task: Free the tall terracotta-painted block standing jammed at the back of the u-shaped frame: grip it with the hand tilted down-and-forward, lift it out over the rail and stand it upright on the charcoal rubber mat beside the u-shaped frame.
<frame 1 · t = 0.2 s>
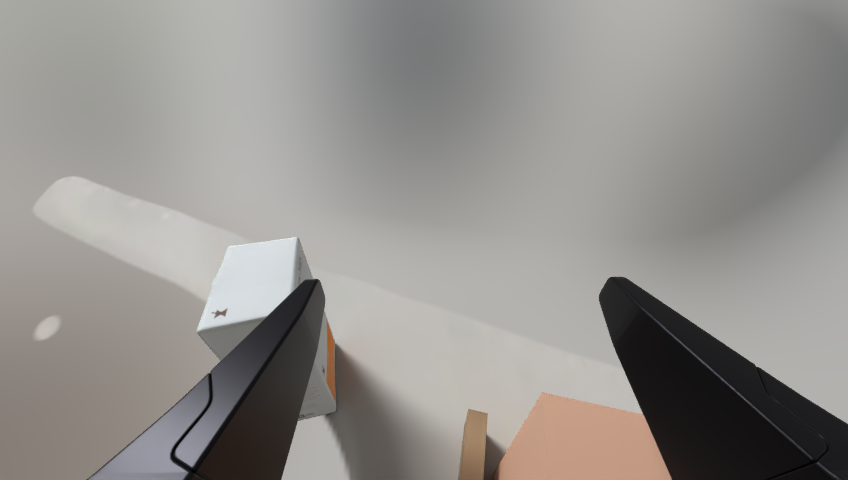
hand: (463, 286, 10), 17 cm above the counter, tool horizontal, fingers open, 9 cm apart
skincare box: (310, 379, 24), on the counter
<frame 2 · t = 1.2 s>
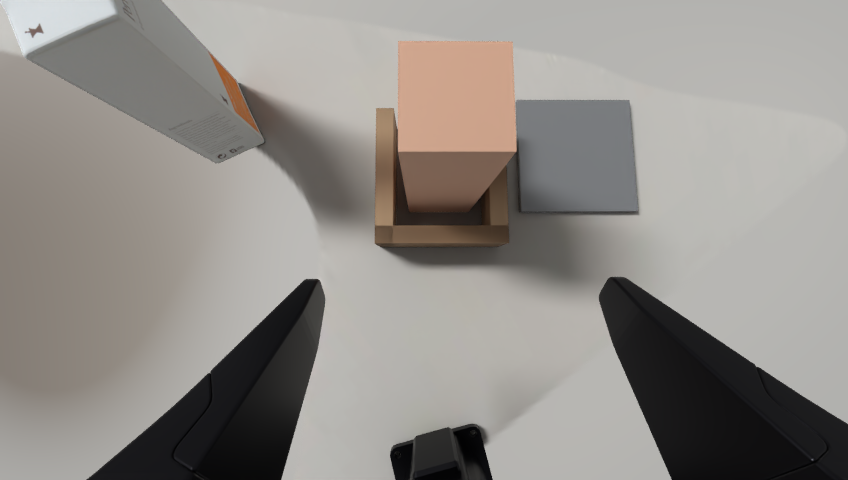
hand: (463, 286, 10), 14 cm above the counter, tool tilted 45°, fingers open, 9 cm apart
u-shaped frame: (438, 183, 24), on the counter
mat: (574, 156, 24), on the counter
skincare box: (229, 122, 25), on the counter
block: (444, 153, 18), in the u-shaped frame
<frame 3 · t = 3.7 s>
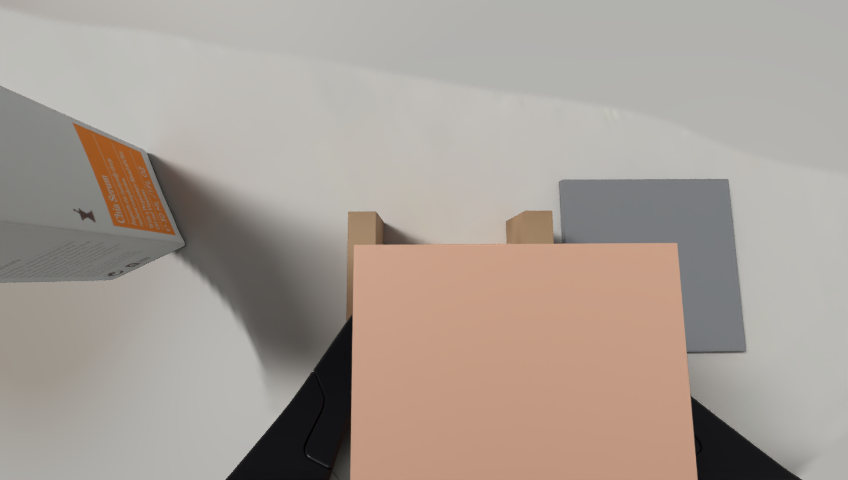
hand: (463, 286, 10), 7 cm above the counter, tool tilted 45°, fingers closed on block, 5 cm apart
u-shaped frame: (446, 306, 16), on the counter
mat: (646, 263, 16), on the counter
skincare box: (135, 212, 17), on the counter
block: (461, 328, 10), in the u-shaped frame, touching gripper
when the fingers open (7 cm above the counter, at t = 6.7 s): block stays where it is, resting on mat.
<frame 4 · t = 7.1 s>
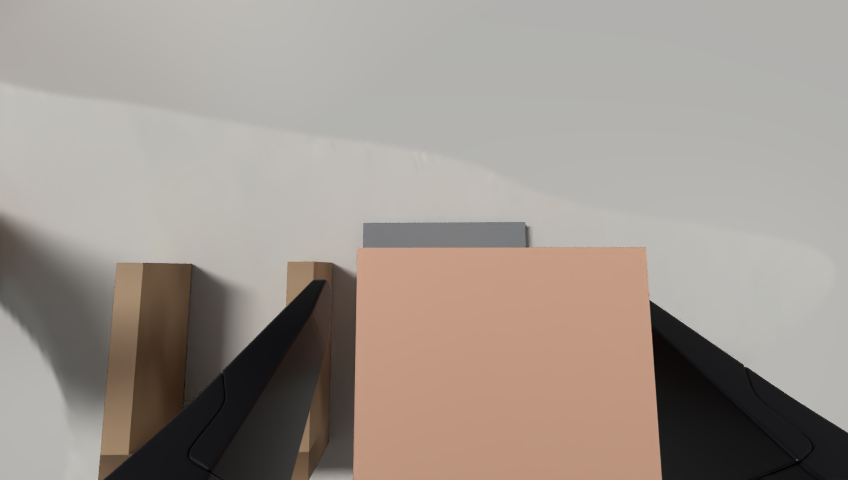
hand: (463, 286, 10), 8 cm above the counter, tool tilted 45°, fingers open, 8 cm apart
u-shaped frame: (247, 346, 17), on the counter
mat: (445, 303, 17), on the counter
block: (457, 325, 11), on the mat
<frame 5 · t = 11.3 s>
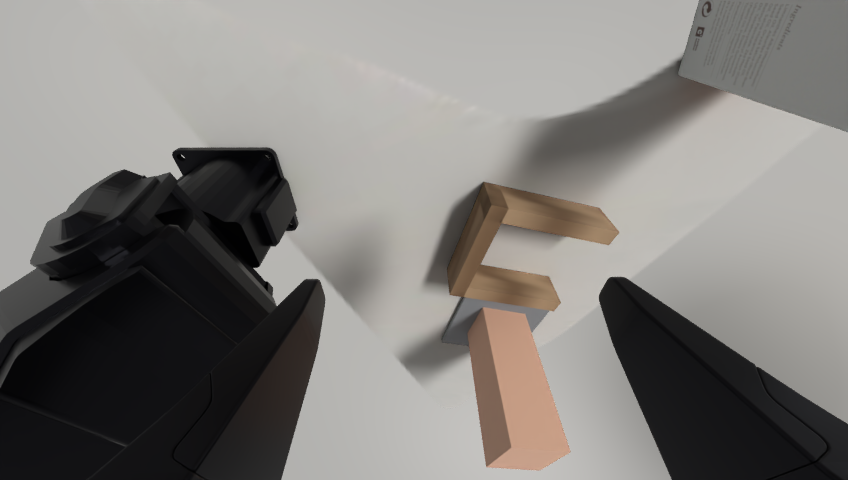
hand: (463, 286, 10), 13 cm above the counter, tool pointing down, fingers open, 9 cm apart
u-shaped frame: (520, 241, 25), on the counter
mat: (494, 321, 32), on the counter
skincare box: (745, 20, 16), on the counter
block: (508, 380, 27), on the mat
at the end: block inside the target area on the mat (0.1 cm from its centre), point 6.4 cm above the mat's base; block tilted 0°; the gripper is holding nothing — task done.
